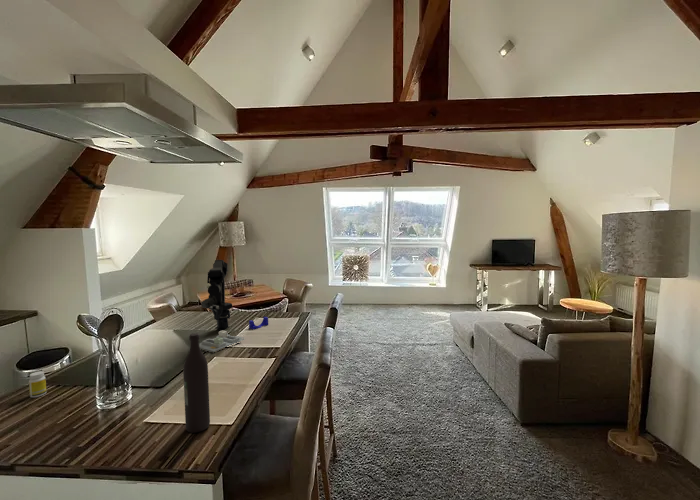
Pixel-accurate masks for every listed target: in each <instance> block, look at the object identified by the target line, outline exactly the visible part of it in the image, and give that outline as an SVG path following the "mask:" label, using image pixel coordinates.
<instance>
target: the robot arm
mask: <svg viewBox="0 0 700 500" xmlns="http://www.w3.org/2000/svg"><path fill="white" fill-rule="evenodd" d="M212 264H213V265H212V268H210V269H209V270H208V271H207V280H206V281H207V282H206V283H207V284H209V287H208V289H207V293H208V297H207V298H205V299H204V300H202V301H201V302H200V304H201V307H202V309H208V310H210V311H211V312H212V314H213V317H214V320H215V321H216V326H215V327H214V329H215V330H219V331H222V330H223V331H224V330H226V329H229V328H231V326H229V319H230V318H231V311H230V309H233V304H232V303H231V302H226V285H225V284H226V283H225V282H226V280H225V279H226V277H227V275H228V272H229V265H228V263H227V262H226V261H225V260H223V259H216V260H214V263H212Z"/></svg>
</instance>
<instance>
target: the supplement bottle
mask: <svg viewBox="0 0 700 500" xmlns="http://www.w3.org/2000/svg"><path fill="white" fill-rule="evenodd" d="M46 379H47V378H46V376H45V371H44V370H39V371H36V372H32V373H30V374H29V380H28V389H29V390H28V391H29V398H39V397H41V396H44V395H45V394H47V391H48V390H47V381H46Z"/></svg>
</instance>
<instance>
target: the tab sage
mask: <svg viewBox="0 0 700 500" xmlns="http://www.w3.org/2000/svg"><path fill="white" fill-rule="evenodd" d="M213 339H214V344H218V345H219V344H222V343H223V338H221V337H217V338H216V337H214V338H213Z"/></svg>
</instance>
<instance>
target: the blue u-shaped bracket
mask: <svg viewBox="0 0 700 500" xmlns="http://www.w3.org/2000/svg"><path fill="white" fill-rule="evenodd" d="M262 318H263V319H262V320H261V323H260V324H258V325H256V323H255V321H254V320H251V319H250V320H248V329H251V330H257V329H261V328H262V327H265V326H268V325H269V317H268V316H263V317H262Z"/></svg>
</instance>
